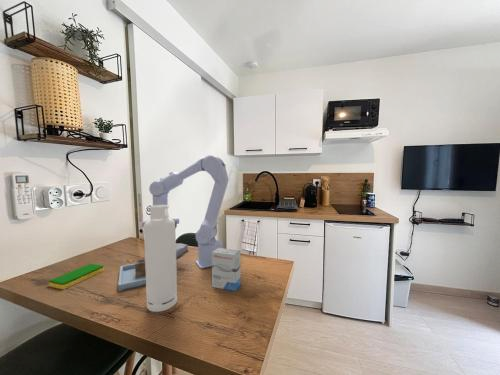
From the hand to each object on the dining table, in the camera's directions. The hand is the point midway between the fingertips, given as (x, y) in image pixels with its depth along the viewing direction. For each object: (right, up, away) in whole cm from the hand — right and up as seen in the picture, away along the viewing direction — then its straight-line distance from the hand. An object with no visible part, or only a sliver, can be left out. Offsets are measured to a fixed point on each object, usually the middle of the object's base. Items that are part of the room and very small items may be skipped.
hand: (161, 241), depth 88 cm
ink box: (+30, -10, -19) cm, 37 cm away
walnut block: (-2, -9, -12) cm, 15 cm away
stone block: (+1, -8, +9) cm, 12 cm away
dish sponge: (-24, -10, -13) cm, 29 cm away
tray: (-2, -9, -12) cm, 15 cm away
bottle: (+12, -10, -28) cm, 32 cm away
